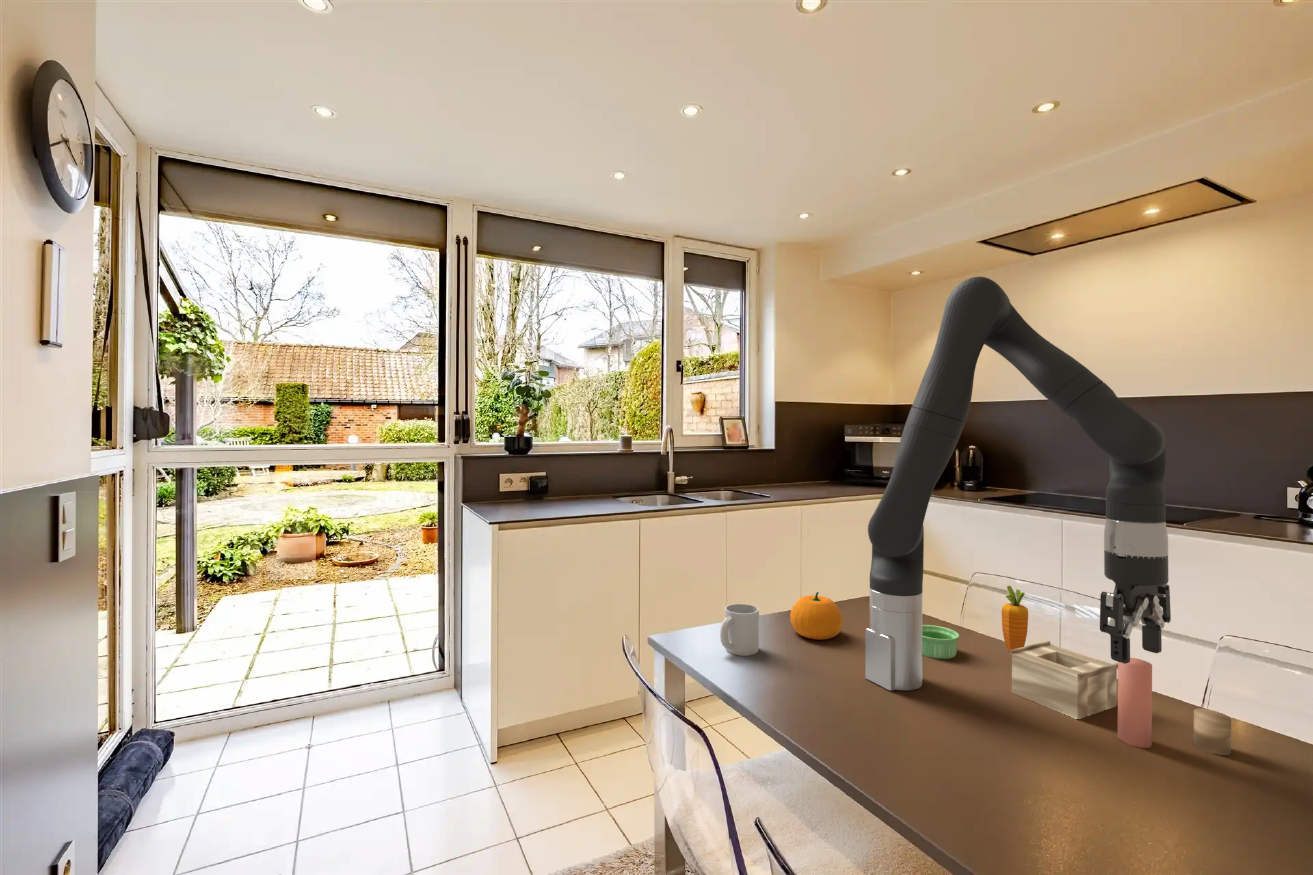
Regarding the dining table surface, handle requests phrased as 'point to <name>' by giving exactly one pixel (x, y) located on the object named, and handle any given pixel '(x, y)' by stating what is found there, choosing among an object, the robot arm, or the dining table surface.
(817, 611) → the fruit
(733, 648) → the cup
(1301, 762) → the dining table surface
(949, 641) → the ramekin
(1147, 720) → the long dowel
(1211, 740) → the short dowel
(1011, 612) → the carrot
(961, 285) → the robot arm
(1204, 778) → the dining table surface
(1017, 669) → the hole block
